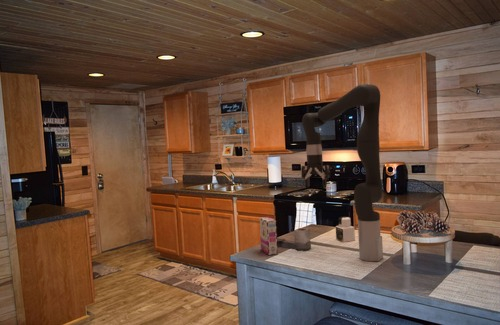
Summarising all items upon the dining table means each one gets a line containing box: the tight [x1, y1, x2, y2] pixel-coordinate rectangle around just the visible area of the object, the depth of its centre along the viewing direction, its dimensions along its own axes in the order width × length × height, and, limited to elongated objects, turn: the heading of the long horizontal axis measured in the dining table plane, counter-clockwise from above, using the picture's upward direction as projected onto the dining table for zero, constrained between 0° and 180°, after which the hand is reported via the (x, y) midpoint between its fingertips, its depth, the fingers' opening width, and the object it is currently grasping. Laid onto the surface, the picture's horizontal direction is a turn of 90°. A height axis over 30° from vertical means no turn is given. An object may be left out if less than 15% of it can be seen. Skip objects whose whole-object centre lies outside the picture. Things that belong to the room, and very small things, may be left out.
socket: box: [293, 227, 311, 244], centre depth 188 cm, size 6×6×6 cm
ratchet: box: [277, 237, 312, 252], centre depth 192 cm, size 22×8×8 cm, turn 55°
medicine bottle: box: [335, 216, 356, 243], centre depth 199 cm, size 7×7×12 cm
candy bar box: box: [259, 216, 279, 256], centre depth 185 cm, size 11×5×16 cm, turn 18°
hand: (316, 186), depth 188 cm, fingers open, 8 cm apart
